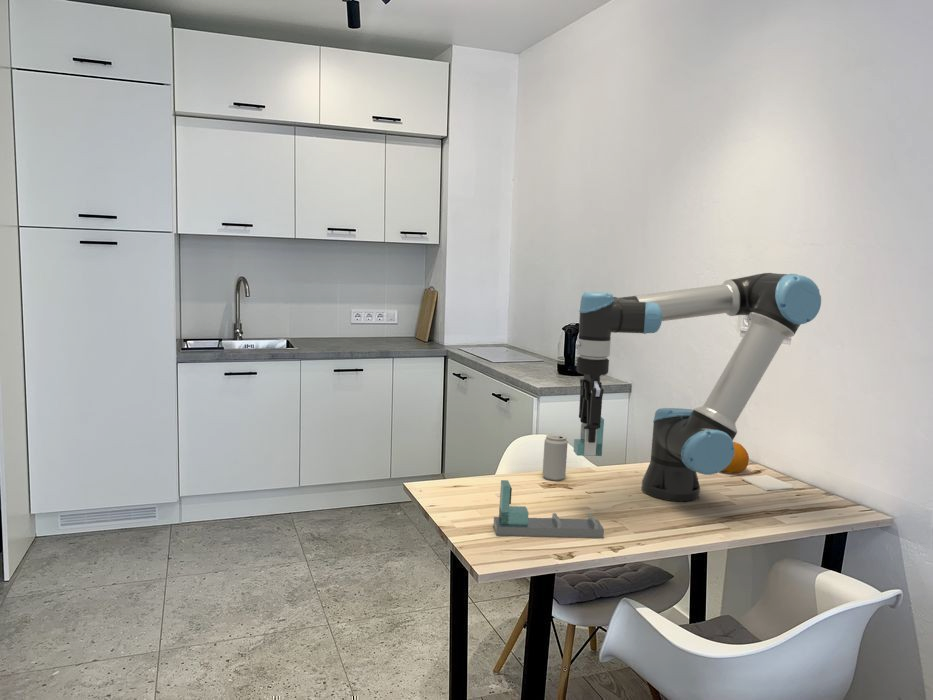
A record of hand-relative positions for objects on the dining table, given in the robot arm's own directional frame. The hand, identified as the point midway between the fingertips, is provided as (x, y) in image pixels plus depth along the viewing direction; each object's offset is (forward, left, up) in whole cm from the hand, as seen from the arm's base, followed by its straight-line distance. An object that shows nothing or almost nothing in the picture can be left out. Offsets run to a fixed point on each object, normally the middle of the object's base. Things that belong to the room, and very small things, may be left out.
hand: (587, 451), depth 176 cm
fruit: (-54, -39, -15) cm, 68 cm away
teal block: (0, 0, 0) cm, 0 cm away
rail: (+11, +14, -15) cm, 23 cm away
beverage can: (+2, -26, -15) cm, 30 cm away
